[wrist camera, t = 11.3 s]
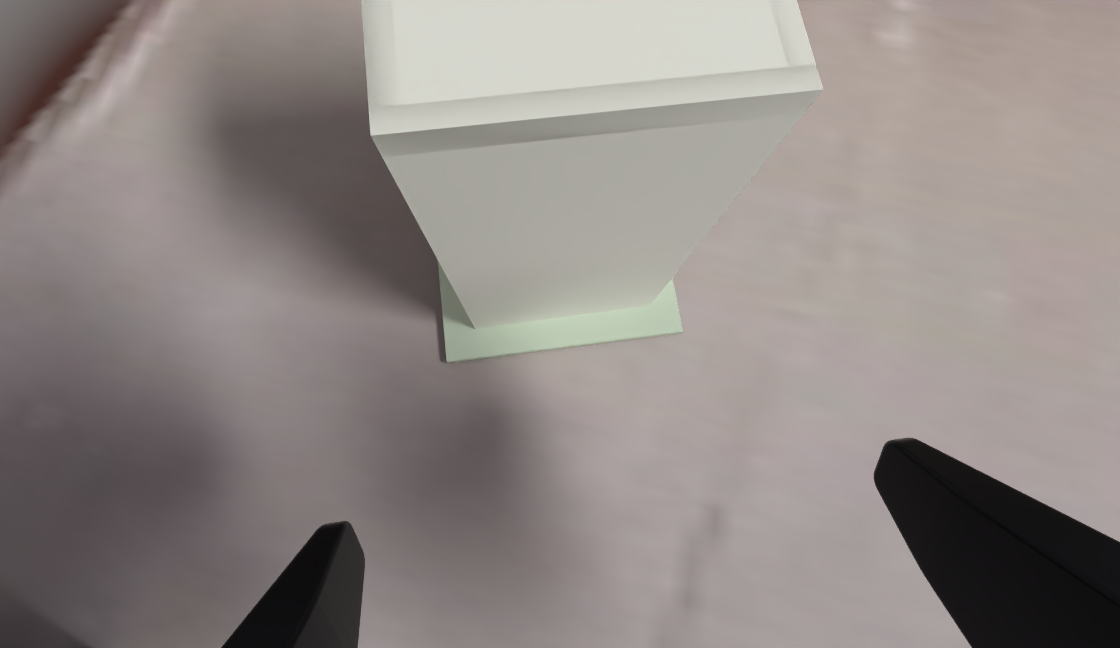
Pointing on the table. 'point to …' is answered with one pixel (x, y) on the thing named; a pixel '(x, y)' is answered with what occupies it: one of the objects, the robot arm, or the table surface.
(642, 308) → the sage pad
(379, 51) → the white chamfered pillar
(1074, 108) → the table surface
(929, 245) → the table surface
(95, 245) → the table surface
